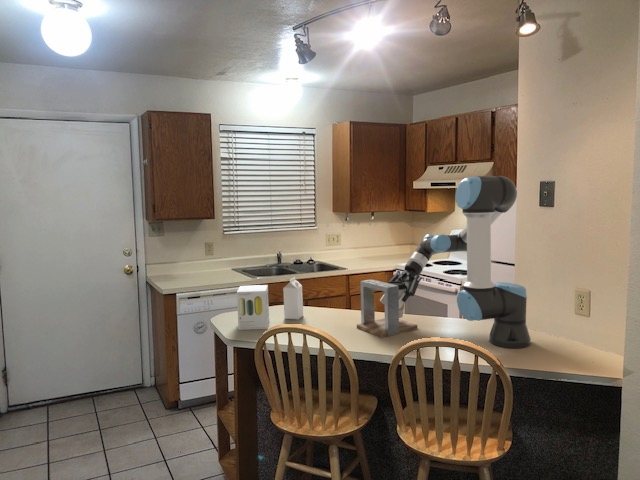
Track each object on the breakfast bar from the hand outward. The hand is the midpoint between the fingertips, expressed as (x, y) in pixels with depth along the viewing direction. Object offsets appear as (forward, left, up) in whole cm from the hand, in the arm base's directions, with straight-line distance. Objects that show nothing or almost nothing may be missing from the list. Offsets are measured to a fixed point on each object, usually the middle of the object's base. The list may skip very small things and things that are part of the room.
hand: (389, 304), depth 222 cm
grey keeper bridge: (0, +6, -10) cm, 12 cm away
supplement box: (+41, +46, -10) cm, 62 cm away
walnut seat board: (0, +2, -10) cm, 10 cm away
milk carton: (+41, +25, -10) cm, 49 cm away
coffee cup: (0, -3, -6) cm, 7 cm away
